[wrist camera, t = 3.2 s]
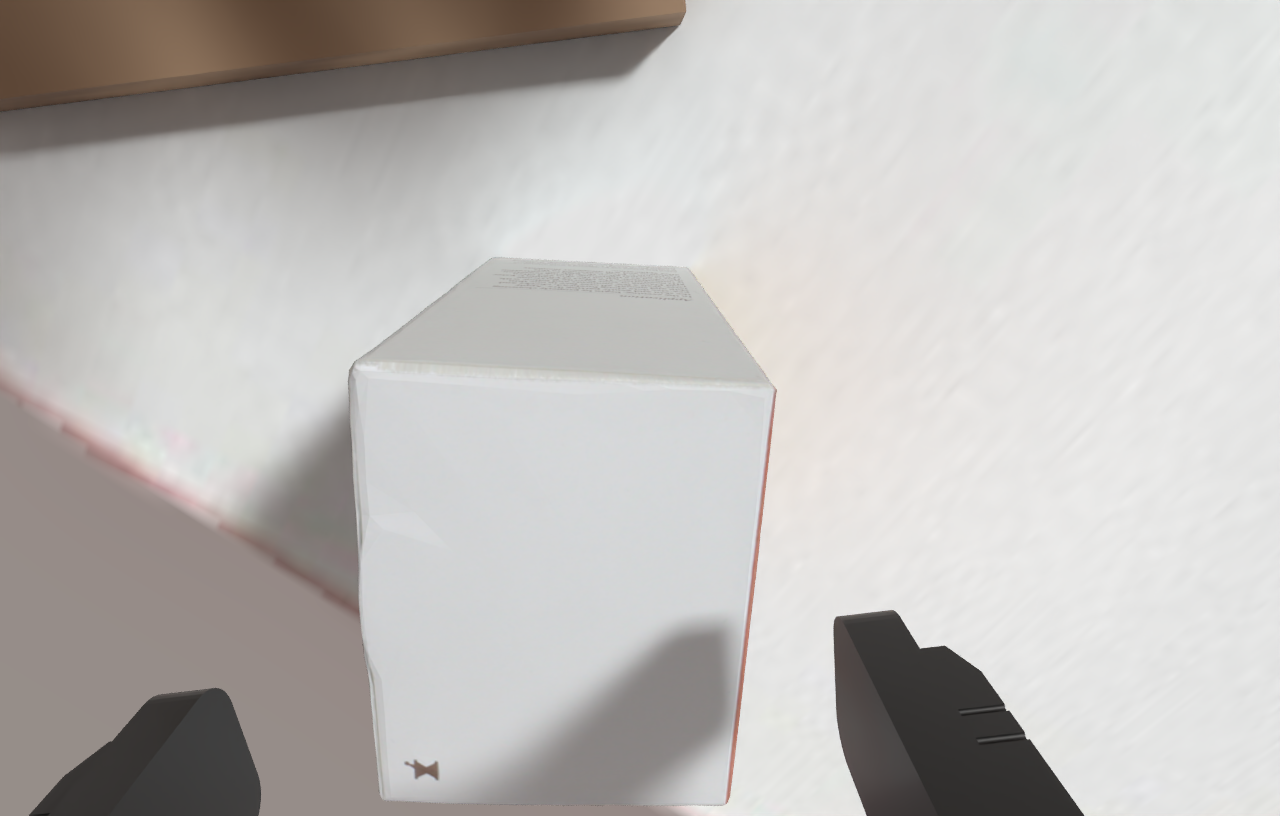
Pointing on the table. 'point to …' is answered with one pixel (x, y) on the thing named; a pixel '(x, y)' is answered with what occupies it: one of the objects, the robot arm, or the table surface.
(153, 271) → the table surface
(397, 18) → the base board
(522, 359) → the small box
